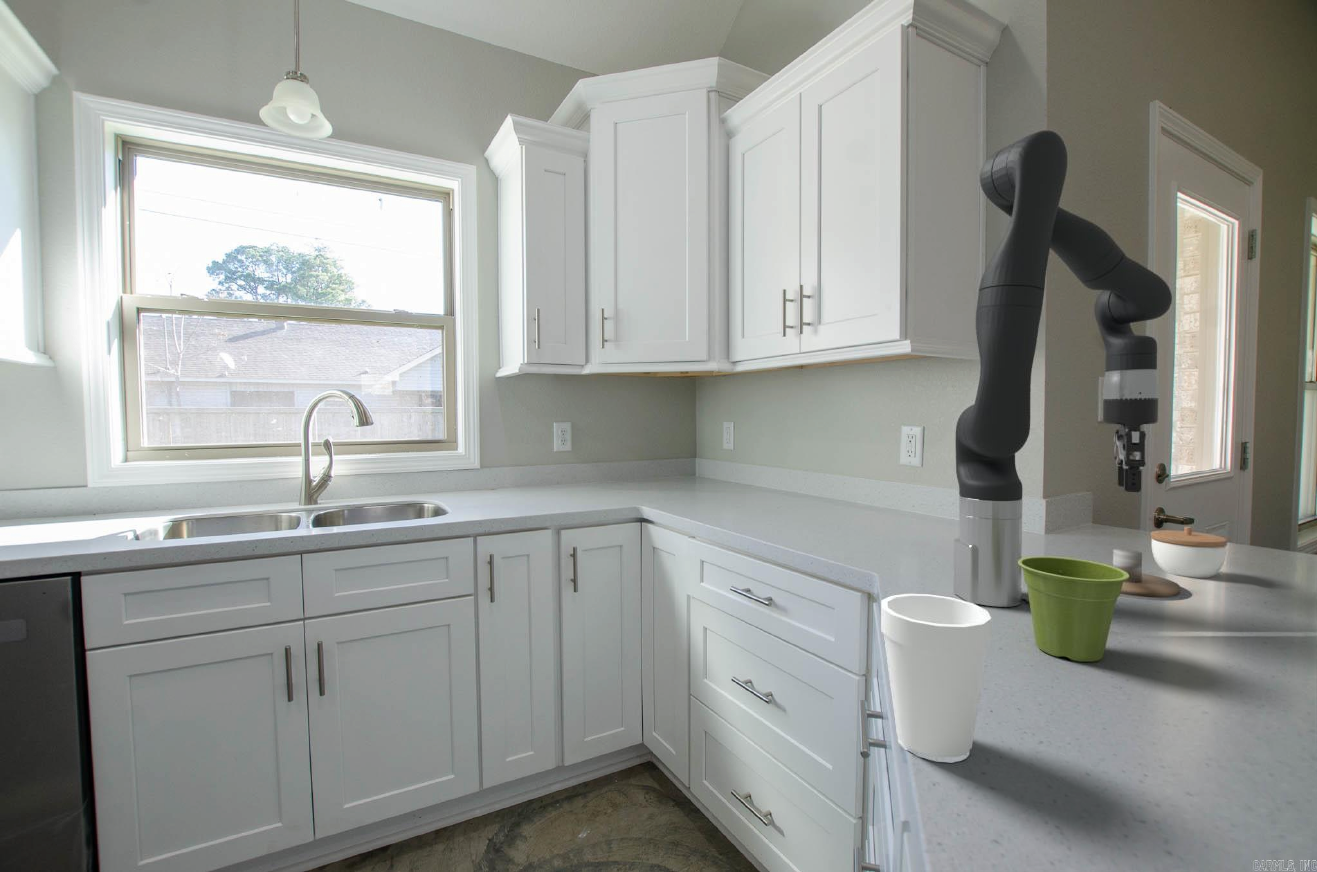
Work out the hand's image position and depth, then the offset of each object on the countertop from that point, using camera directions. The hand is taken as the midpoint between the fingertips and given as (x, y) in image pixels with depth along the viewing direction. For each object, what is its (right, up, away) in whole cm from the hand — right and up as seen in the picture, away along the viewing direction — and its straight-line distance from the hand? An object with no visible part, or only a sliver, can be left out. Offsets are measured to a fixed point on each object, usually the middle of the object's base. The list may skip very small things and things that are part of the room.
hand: (1128, 489), depth 103 cm
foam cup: (-57, -20, -47) cm, 76 cm away
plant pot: (-29, -19, -26) cm, 43 cm away
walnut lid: (0, -17, +1) cm, 17 cm away
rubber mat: (0, -18, +1) cm, 18 cm away
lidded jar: (+17, -18, +8) cm, 26 cm away
